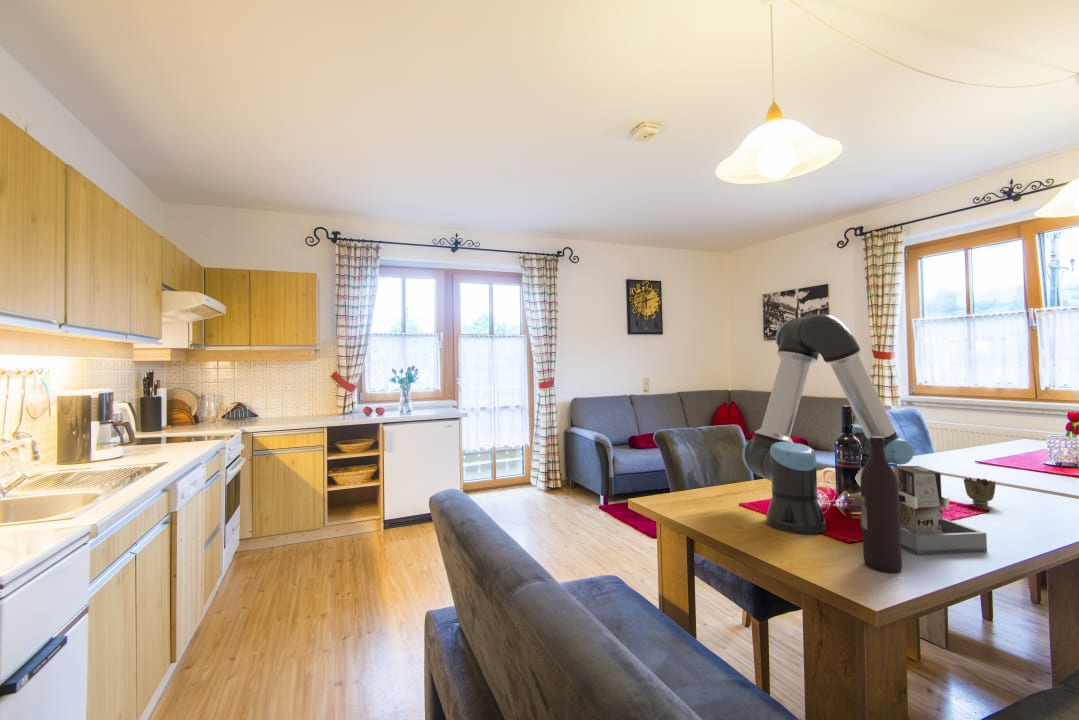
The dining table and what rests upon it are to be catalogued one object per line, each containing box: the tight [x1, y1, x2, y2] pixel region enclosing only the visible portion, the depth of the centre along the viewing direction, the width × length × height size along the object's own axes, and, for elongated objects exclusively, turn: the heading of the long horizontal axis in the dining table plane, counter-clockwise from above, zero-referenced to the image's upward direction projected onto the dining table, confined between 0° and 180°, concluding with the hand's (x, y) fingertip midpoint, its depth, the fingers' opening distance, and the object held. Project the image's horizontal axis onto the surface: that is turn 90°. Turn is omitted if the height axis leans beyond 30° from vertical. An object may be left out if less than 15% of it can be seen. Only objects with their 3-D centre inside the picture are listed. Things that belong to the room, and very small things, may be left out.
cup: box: [963, 477, 996, 507], centre depth 145 cm, size 8×7×8 cm
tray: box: [859, 512, 988, 556], centre depth 119 cm, size 18×18×4 cm
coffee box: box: [893, 465, 944, 535], centre depth 119 cm, size 9×6×16 cm
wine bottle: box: [860, 436, 903, 574], centre depth 104 cm, size 7×7×30 cm
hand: (931, 503), depth 114 cm, fingers closed on coffee box, 7 cm apart
